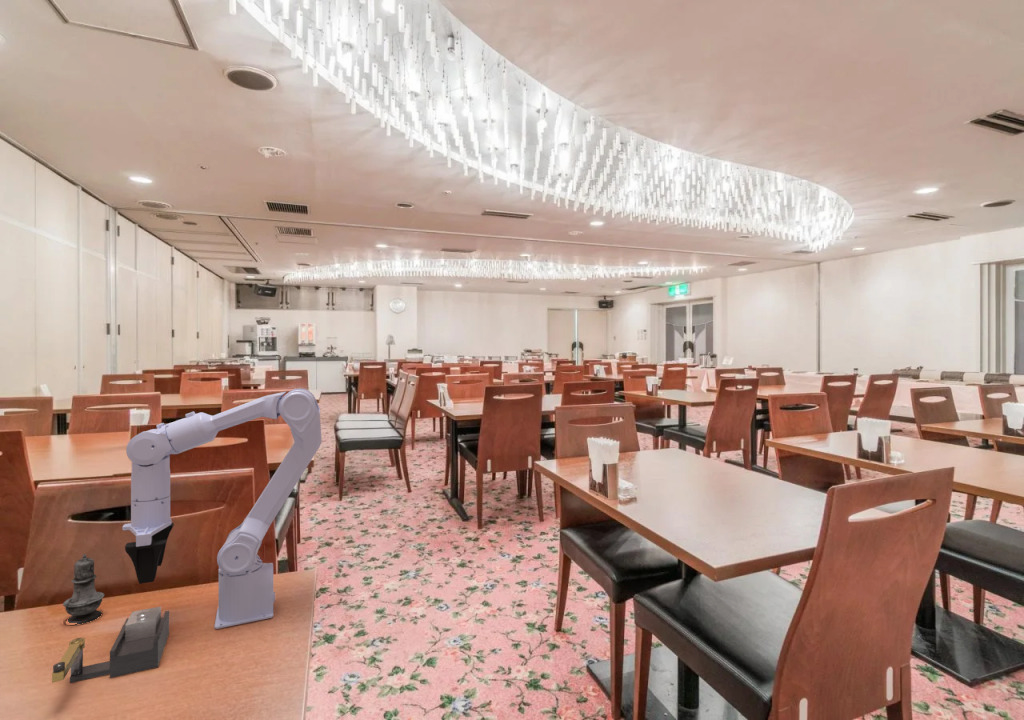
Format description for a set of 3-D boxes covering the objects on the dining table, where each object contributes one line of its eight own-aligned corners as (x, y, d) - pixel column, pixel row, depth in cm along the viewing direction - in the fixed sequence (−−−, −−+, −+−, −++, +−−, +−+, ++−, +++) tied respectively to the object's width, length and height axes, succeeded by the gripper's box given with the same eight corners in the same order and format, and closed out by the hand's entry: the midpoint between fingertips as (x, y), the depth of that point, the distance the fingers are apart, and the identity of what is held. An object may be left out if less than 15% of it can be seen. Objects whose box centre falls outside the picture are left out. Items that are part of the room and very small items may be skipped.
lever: (66, 679, 69) (66, 665, 69) (48, 683, 68) (48, 668, 68) (86, 644, 77) (86, 631, 77) (71, 647, 76) (71, 634, 76)
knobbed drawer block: (160, 621, 86) (160, 602, 86) (155, 635, 82) (155, 615, 82) (132, 627, 85) (132, 608, 85) (125, 641, 80) (125, 621, 80)
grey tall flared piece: (80, 628, 90) (80, 561, 90) (54, 624, 91) (54, 558, 91) (112, 612, 96) (112, 549, 96) (87, 609, 97) (87, 546, 97)
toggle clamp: (169, 633, 88) (169, 610, 88) (157, 667, 78) (157, 641, 78) (87, 649, 83) (88, 625, 83) (65, 688, 73) (65, 660, 73)
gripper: (131, 490, 94) (131, 563, 94) (113, 511, 81) (112, 595, 81) (176, 486, 98) (176, 556, 98) (165, 505, 85) (165, 586, 85)
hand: (150, 573), depth 90 cm, fingers open, 7 cm apart
